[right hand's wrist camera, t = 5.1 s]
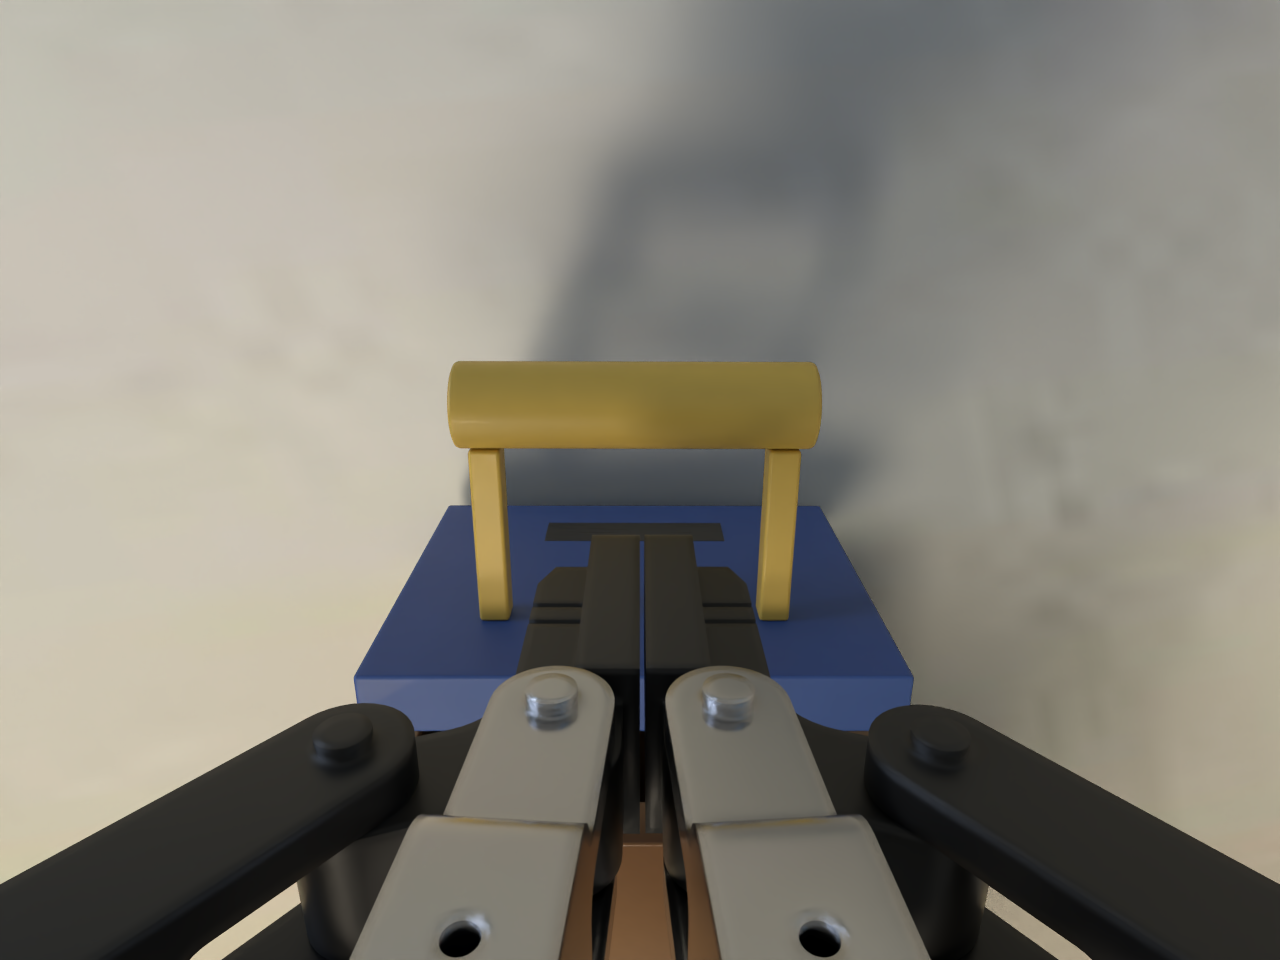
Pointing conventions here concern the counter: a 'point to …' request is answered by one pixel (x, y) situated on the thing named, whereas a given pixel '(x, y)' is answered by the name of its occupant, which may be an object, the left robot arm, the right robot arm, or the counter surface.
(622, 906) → the cabinet
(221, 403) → the counter surface
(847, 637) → the drawer
